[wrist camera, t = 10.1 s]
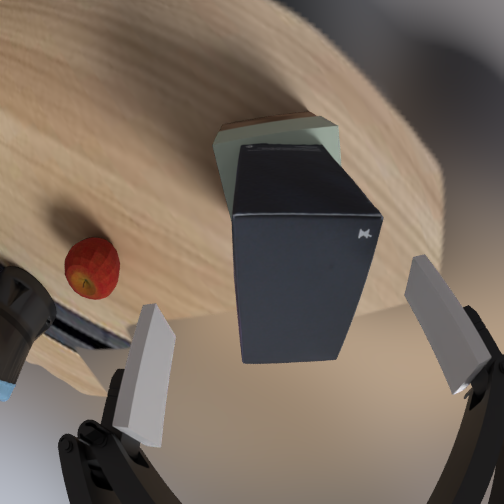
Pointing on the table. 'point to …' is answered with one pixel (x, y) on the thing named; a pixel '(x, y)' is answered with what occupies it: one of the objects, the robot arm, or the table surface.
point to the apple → (92, 268)
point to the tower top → (271, 133)
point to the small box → (298, 252)
